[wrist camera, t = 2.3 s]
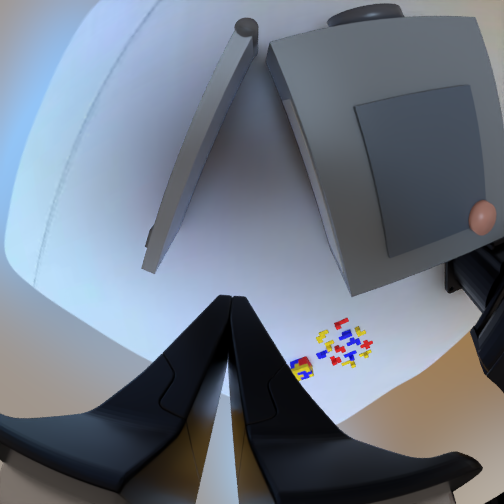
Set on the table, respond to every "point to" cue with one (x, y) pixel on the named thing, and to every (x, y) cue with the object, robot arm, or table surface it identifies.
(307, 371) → the building blocks
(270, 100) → the table surface
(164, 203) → the side door
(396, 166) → the camera box
